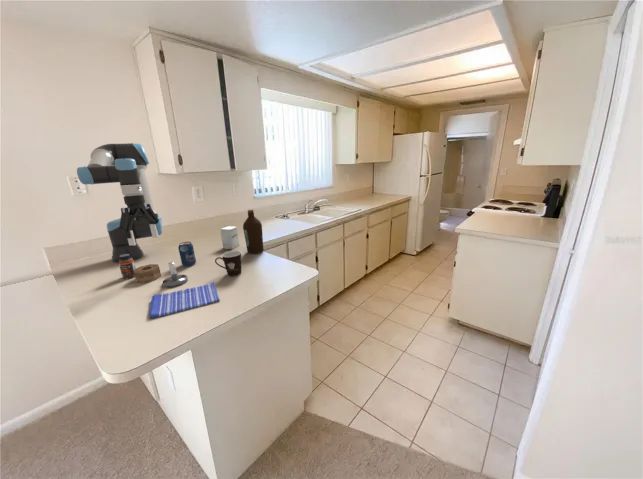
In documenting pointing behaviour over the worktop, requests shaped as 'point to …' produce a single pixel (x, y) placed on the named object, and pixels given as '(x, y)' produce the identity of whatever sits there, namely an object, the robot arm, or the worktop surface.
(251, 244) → the olive oil
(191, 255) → the soda can
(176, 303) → the dish towel
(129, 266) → the supplement bottle
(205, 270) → the worktop surface
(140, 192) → the robot arm
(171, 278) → the silver peg stand
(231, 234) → the supplement box
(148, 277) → the walnut ring
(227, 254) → the coffee mug
